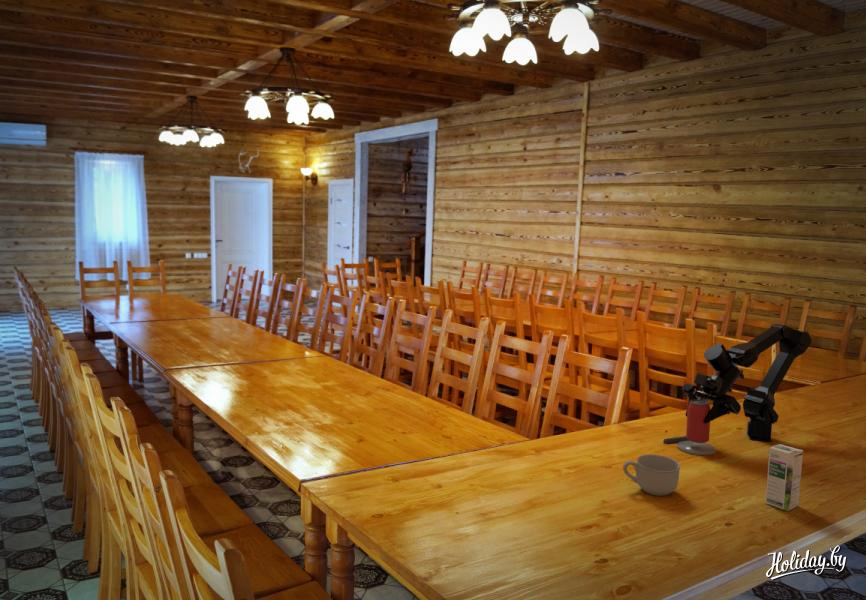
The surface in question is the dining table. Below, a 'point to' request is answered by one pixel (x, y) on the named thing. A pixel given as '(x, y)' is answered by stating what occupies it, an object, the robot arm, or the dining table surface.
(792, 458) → the syrup box
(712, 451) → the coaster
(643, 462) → the teacup
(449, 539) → the dining table surface
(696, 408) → the beer can
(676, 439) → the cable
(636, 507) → the dining table surface
